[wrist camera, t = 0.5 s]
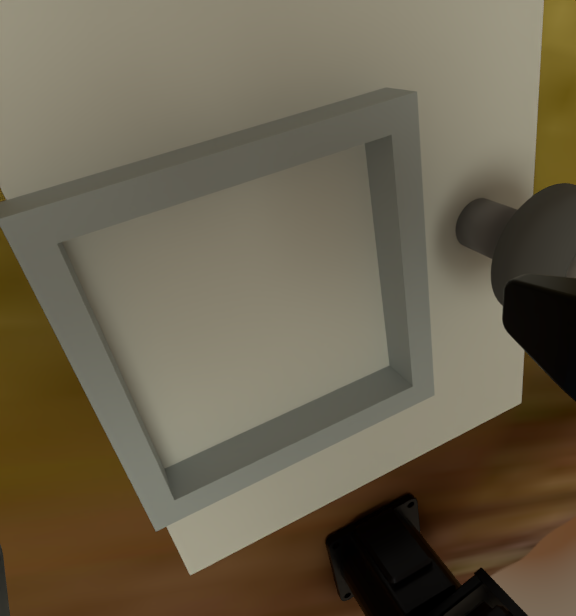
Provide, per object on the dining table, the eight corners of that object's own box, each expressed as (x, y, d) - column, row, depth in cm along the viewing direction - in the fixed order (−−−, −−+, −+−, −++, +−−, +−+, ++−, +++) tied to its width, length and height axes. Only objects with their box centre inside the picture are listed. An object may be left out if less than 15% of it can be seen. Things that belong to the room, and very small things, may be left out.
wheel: (587, 285, 24) (646, 310, 22) (489, 331, 23) (541, 363, 20) (602, 165, 21) (671, 180, 19) (491, 209, 20) (552, 231, 18)
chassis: (507, 392, 34) (546, 421, 32) (181, 558, 28) (196, 611, 26) (526, -140, 20) (600, -167, 18) (-107, -26, 14) (-135, -40, 12)
